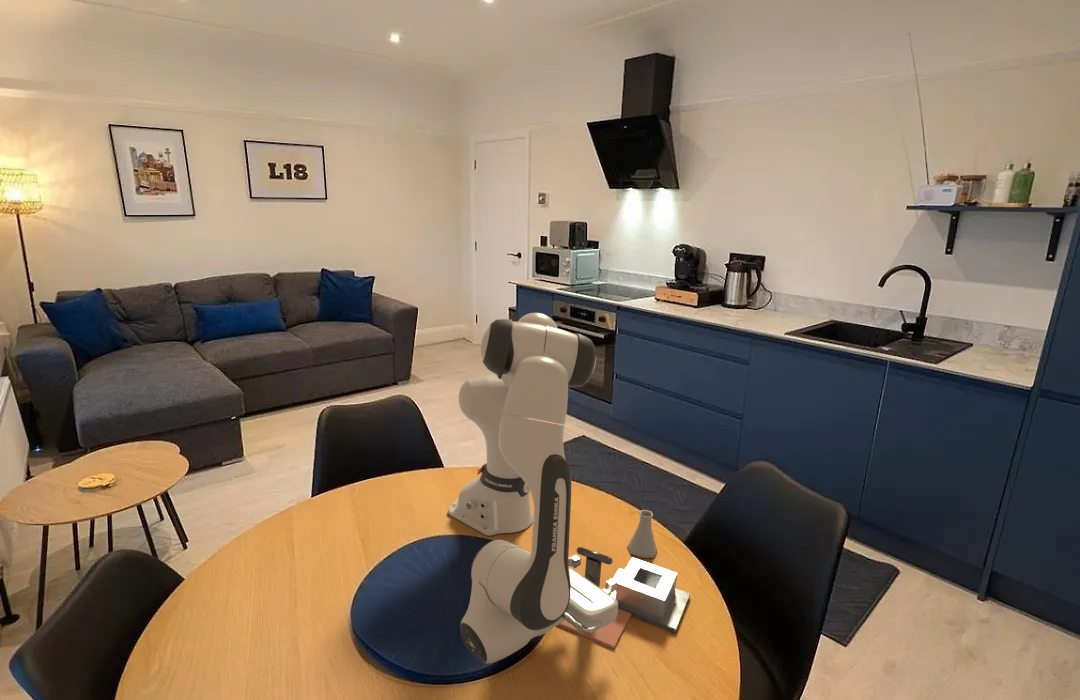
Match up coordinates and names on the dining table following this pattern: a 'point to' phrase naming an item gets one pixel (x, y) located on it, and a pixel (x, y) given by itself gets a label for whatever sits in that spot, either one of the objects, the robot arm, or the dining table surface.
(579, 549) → the chuck key
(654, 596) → the block
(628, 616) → the key mat
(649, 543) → the flask
